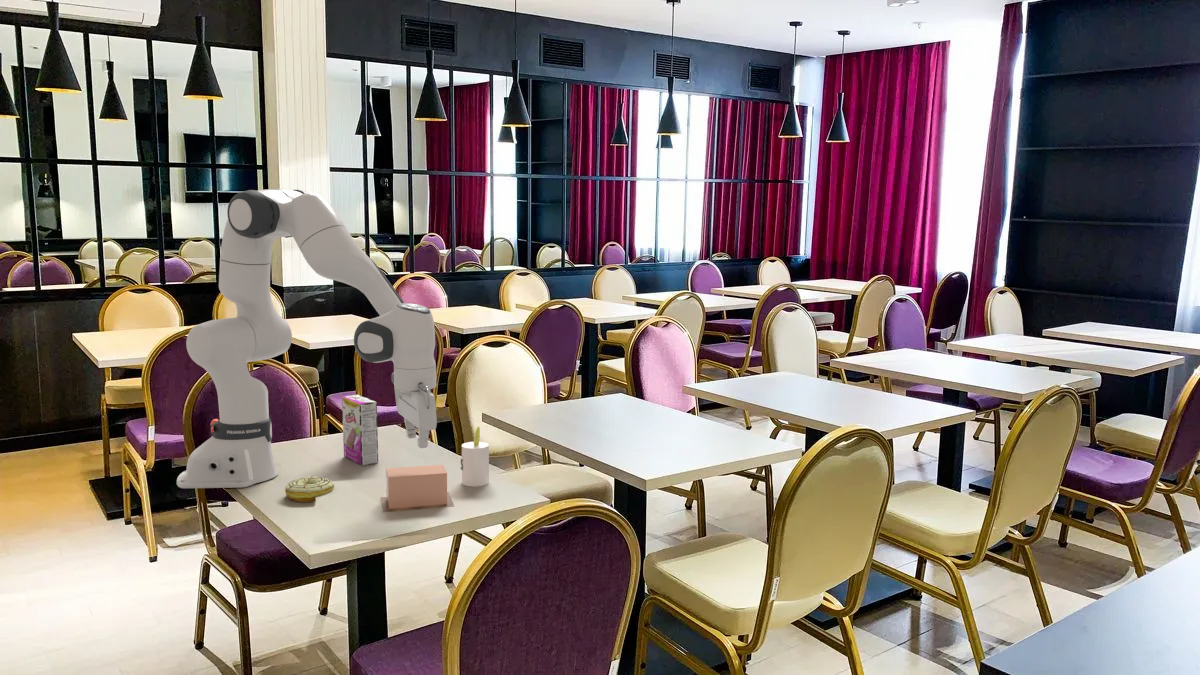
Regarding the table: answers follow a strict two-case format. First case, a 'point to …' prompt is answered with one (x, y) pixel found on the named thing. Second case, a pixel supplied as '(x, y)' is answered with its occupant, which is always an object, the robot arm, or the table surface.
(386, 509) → the marble board
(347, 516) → the table surface
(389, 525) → the table surface
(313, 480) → the decorated donut
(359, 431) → the candy bar box
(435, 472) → the peach brick
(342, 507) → the table surface
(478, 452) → the candle
